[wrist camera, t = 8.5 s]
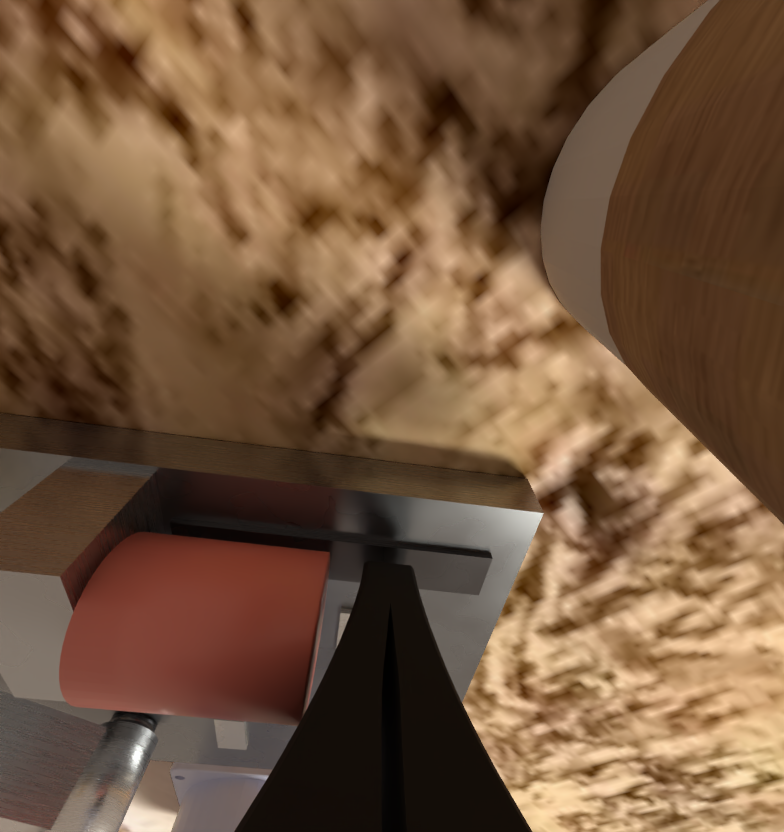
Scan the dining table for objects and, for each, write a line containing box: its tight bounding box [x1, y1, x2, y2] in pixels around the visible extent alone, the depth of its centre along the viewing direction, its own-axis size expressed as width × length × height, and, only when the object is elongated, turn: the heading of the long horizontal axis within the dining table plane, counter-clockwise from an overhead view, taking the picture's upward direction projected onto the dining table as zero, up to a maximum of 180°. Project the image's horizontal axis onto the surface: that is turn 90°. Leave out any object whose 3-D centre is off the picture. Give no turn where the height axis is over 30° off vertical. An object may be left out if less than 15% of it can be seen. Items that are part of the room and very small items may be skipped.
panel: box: [0, 413, 543, 770], centre depth 13 cm, size 17×22×5 cm
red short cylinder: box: [59, 532, 330, 726], centre depth 9 cm, size 4×5×4 cm
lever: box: [0, 690, 158, 832], centre depth 13 cm, size 9×2×4 cm, turn 49°
